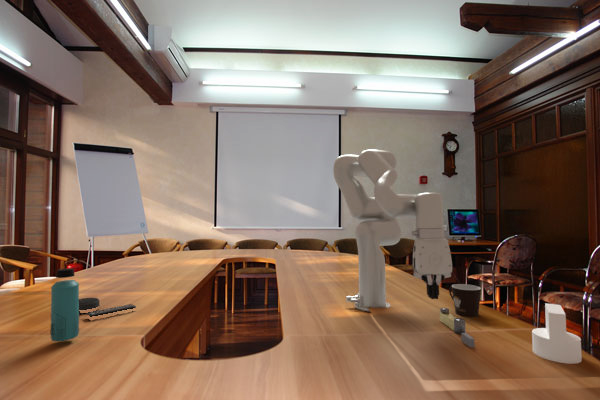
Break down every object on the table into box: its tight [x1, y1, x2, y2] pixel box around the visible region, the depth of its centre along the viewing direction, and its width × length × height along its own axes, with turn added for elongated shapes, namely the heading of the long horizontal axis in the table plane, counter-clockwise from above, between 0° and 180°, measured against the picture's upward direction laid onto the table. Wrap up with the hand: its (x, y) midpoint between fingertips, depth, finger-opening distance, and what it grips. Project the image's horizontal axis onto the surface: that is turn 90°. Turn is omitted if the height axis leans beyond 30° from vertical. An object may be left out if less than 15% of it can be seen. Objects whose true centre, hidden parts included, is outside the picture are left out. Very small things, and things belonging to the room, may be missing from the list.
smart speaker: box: [79, 297, 100, 310], centre depth 120 cm, size 9×9×4 cm
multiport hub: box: [85, 303, 137, 317], centre depth 115 cm, size 4×14×2 cm, turn 138°
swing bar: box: [439, 307, 466, 335], centre depth 96 cm, size 12×3×4 cm, turn 1°
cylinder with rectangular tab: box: [531, 302, 582, 365], centre depth 77 cm, size 9×9×12 cm
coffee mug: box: [448, 283, 482, 318], centre depth 110 cm, size 12×9×10 cm
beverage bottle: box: [49, 267, 81, 342], centre depth 91 cm, size 6×7×20 cm
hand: (433, 297), depth 97 cm, fingers closed
